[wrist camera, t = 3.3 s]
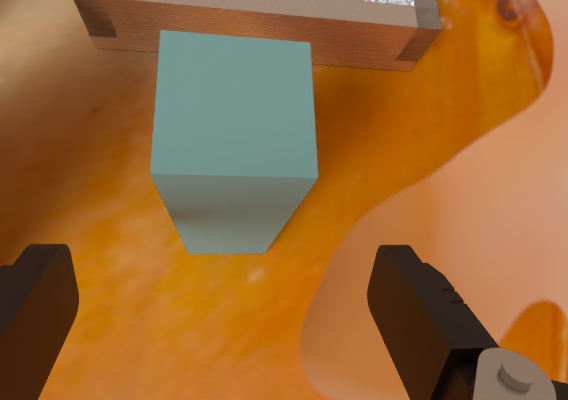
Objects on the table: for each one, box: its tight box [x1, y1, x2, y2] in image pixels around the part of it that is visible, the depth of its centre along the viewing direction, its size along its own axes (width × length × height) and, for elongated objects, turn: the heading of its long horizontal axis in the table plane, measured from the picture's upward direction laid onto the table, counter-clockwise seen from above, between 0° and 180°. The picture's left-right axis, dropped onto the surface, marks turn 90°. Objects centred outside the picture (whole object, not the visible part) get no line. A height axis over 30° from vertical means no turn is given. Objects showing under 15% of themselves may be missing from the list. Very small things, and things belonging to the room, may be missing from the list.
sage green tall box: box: [150, 30, 318, 254], centre depth 15 cm, size 4×4×12 cm
